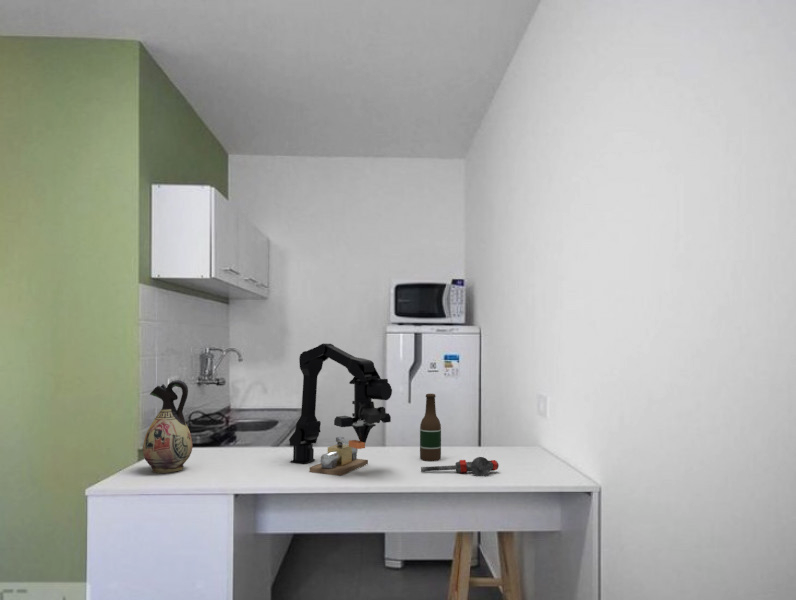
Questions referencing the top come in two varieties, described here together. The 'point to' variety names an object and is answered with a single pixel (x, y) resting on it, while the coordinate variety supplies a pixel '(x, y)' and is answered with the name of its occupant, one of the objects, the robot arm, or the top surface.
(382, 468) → the top surface
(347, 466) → the valve base
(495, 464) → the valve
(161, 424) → the ceramic jug
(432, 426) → the beer bottle
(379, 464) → the top surface
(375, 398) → the robot arm
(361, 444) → the lever
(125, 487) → the top surface
